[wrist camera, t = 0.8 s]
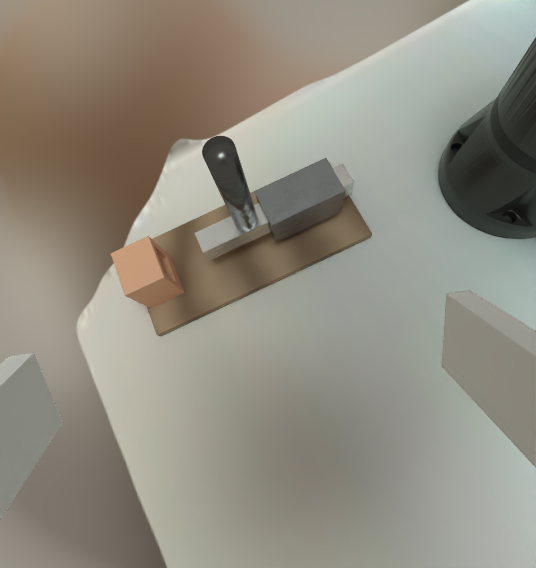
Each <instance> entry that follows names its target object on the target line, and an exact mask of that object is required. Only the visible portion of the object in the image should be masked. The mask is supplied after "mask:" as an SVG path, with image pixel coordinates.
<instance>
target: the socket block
mask: <svg viewBox="0 0 536 568" xmlns="http://www.w3.org/2000/svg"><path fill="white" fill-rule="evenodd" d="M111 255H112V258H113V261H114V264H115V267H116V270H117V273H118V276H119V279H120V282H121V285H122V288H123V291H124V294H125V296H127V297H129V298H131V299H133V300H135V301H137V302H139V303H141V304H143V305H145V306H147V307H149V308H153V307H155V306H157V305H160V304H162V303H164V302H166V301H168V300H170V299H172V298H174V297H177V296H179V295H181V294H183V293H185V292H184V290H183V287H182V285H181V282H180V279H179V277H178V274H177V272H176V269H175V267H174V264H173V262H172V259H171V257H170V256H169V255H168V254H167V253H166V252H165V251H164V250H163V249H162V248H161V247H160V246H159V245H157V244H156V243H155V242H154V241H153V240H152V239H151V238H150V237H149V236H147V237H145V238H143V239H141V240H139V241H137V242H135V243H132V244H130V245H128V246H126V247H124V248H122V249H120V250H118V251H115V252H113V253H111Z"/></svg>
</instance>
